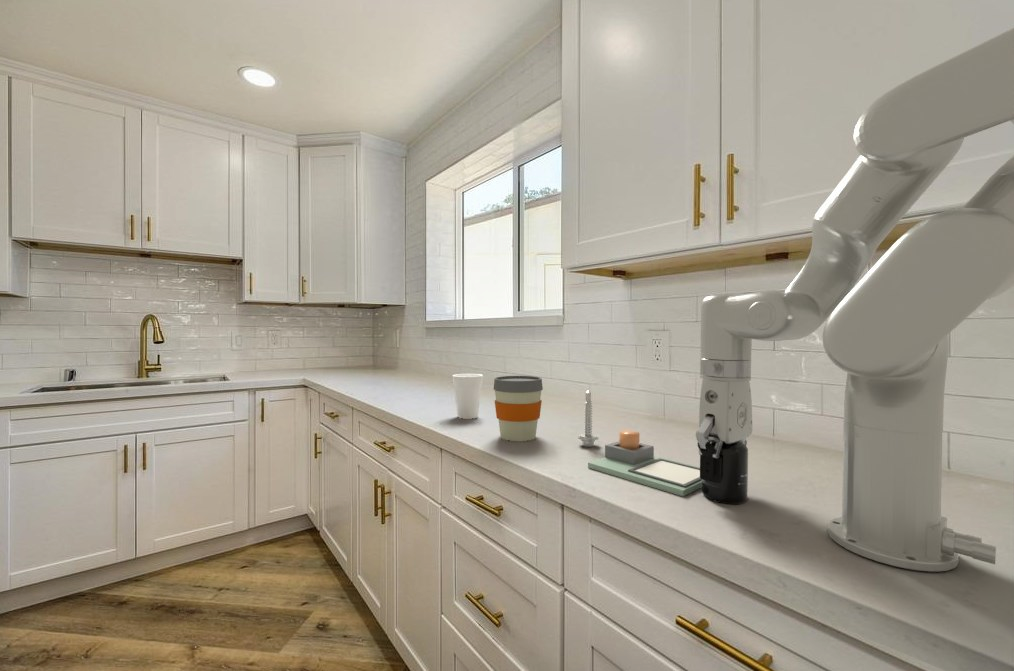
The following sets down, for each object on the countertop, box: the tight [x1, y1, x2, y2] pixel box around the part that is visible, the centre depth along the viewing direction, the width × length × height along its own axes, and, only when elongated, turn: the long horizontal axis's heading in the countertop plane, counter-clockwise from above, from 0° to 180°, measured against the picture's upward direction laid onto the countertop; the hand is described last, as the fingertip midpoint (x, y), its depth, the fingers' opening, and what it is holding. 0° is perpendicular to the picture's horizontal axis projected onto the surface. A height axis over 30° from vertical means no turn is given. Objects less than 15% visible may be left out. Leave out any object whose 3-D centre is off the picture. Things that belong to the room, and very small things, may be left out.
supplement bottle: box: [701, 435, 749, 505], centre depth 73 cm, size 7×7×12 cm
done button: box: [618, 429, 640, 450], centre depth 92 cm, size 4×4×4 cm
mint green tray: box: [587, 440, 702, 497], centre depth 86 cm, size 20×14×4 cm
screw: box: [577, 390, 599, 448], centre depth 105 cm, size 13×5×5 cm
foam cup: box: [452, 373, 484, 420], centre depth 139 cm, size 10×9×13 cm
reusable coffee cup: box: [493, 375, 544, 442], centre depth 114 cm, size 12×13×15 cm
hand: (723, 474), depth 74 cm, fingers open, 8 cm apart
